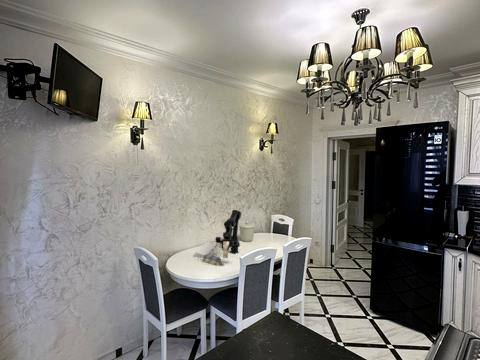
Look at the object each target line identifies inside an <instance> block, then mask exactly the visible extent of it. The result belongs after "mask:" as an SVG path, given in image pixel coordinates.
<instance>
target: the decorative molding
mask: <svg viewBox="0 0 480 360" xmlns="http://www.w3.org/2000/svg"><path fill="white" fill-rule="evenodd" d="M216 247H217V244H216V243H213V242H210V241H206V242H205V243H203V245H202V246H201V247H199V248H198V249H197V250H196V251H195V253H194V258H202V259H203V258H204V255H206V254H207V255H210V254H211V252H213V250H214V249H215V248H216Z"/></svg>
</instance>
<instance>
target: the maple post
mask: <svg viewBox="0 0 480 360" xmlns="http://www.w3.org/2000/svg"><path fill="white" fill-rule="evenodd" d="M228 245H229V242H228V241H223V250H222V258H223V259H228V257H229V250H227V249H228Z"/></svg>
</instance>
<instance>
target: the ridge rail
mask: <svg viewBox="0 0 480 360" xmlns="http://www.w3.org/2000/svg"><path fill="white" fill-rule="evenodd" d="M202 262H203V263H207V264H209V265H213V266H217V267H218V266H220V265H221V264H222V263H223V261H222V259H221V257H217V256H214V255H210V254H208V255H207V254H206V255H204V257H203V258H202Z"/></svg>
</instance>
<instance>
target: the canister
mask: <svg viewBox="0 0 480 360" xmlns="http://www.w3.org/2000/svg"><path fill="white" fill-rule="evenodd" d="M255 227H256V225H255V224H254V223H250V222H249V221H245V222H243V223H240V224H238V229H239V237H240V240H241V241H242V242H246V243H248V242H251V241H253V240H254V235H255Z"/></svg>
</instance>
